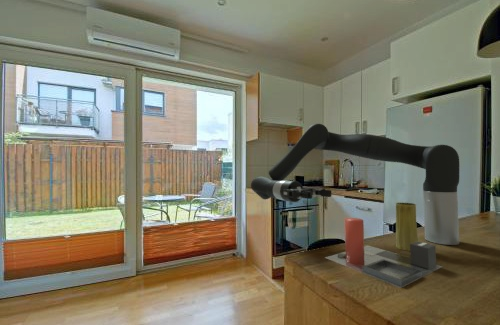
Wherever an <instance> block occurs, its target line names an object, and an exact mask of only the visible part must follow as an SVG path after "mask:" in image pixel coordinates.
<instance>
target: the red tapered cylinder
mask: <svg viewBox="0 0 500 325" xmlns="http://www.w3.org/2000/svg"><path fill="white" fill-rule="evenodd" d="M364 230H365V229H364V219H362V218H357V217H345V218H344V232H345V233H344V239H345V243H344V244H345V246H344V247H345V252H346V261H347V262H349V263H352V264H363V263H364V246H365V237H364V236H365V231H364Z"/></svg>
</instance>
